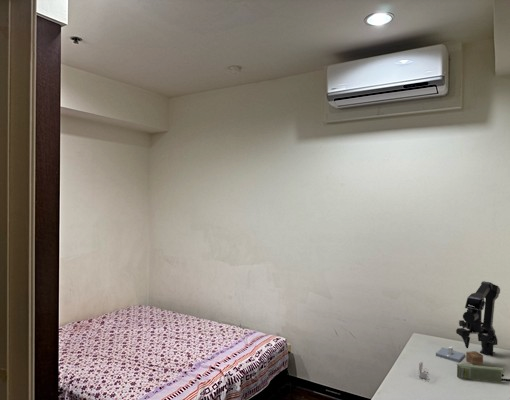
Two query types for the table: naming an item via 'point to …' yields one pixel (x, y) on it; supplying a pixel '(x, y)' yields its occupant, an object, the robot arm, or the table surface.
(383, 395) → the table surface
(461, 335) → the robot arm
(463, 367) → the handheld radio
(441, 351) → the light switch plate
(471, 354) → the taped cardboard box
